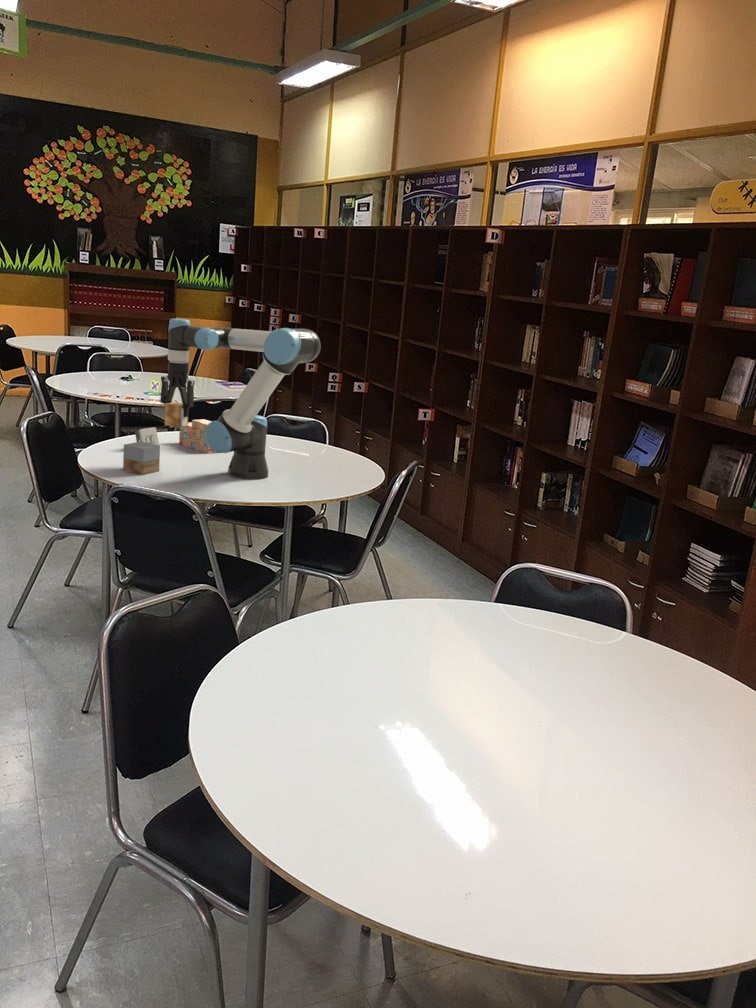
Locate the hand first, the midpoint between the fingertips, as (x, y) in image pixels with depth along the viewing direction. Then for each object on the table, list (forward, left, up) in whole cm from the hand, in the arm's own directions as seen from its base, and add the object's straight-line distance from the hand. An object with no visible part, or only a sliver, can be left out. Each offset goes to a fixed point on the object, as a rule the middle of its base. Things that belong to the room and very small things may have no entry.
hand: (176, 423), depth 309 cm
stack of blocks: (+15, -36, -17) cm, 43 cm away
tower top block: (+4, +14, -12) cm, 19 cm away
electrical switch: (+26, -16, -17) cm, 35 cm away
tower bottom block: (+4, +14, -17) cm, 22 cm away
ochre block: (0, 0, 0) cm, 0 cm away
